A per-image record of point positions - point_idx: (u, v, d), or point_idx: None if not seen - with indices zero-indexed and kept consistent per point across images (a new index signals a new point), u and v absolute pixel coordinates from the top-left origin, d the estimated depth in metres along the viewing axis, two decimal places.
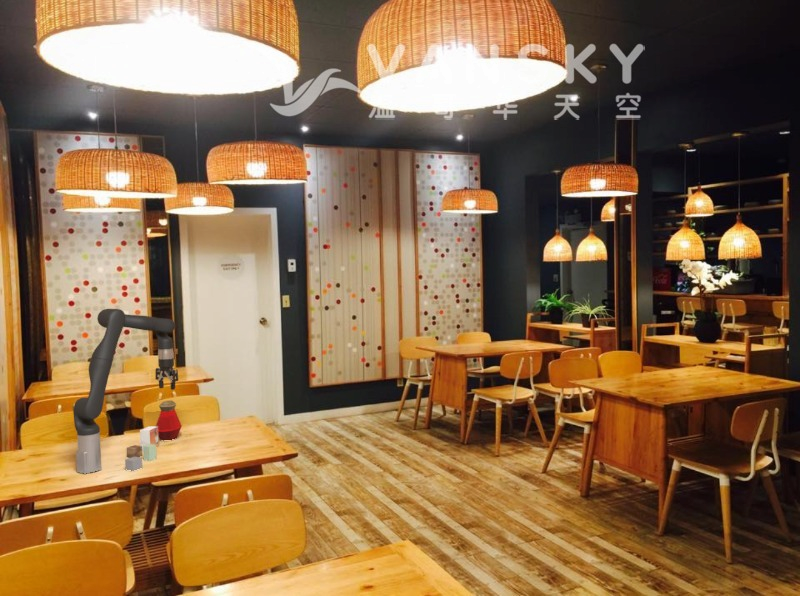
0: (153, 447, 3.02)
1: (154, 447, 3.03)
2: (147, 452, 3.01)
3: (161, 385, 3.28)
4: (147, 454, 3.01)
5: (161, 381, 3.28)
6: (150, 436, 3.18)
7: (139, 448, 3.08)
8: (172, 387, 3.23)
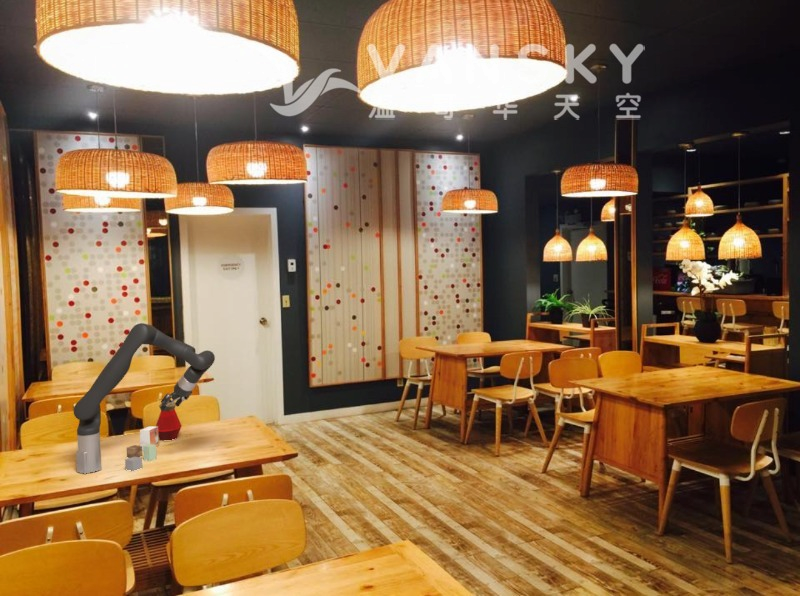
0: (153, 447, 3.02)
1: (154, 447, 3.03)
2: (147, 452, 3.01)
3: (177, 402, 2.98)
4: (147, 454, 3.01)
5: (179, 400, 2.97)
6: (150, 436, 3.18)
7: (139, 448, 3.08)
8: (161, 406, 2.91)
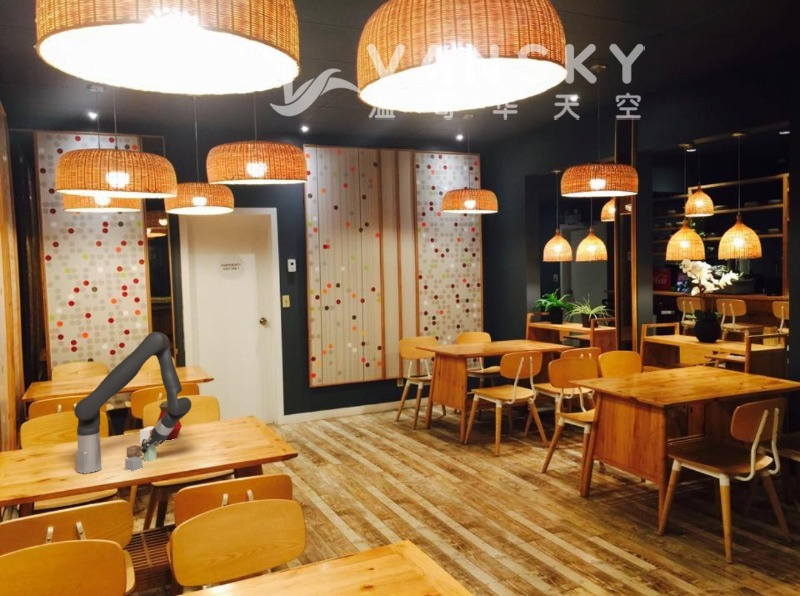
0: (153, 447, 3.02)
1: (154, 447, 3.03)
2: (147, 452, 3.01)
3: None
4: (147, 454, 3.01)
5: (153, 444, 3.04)
6: None
7: (139, 448, 3.08)
8: (142, 449, 3.01)
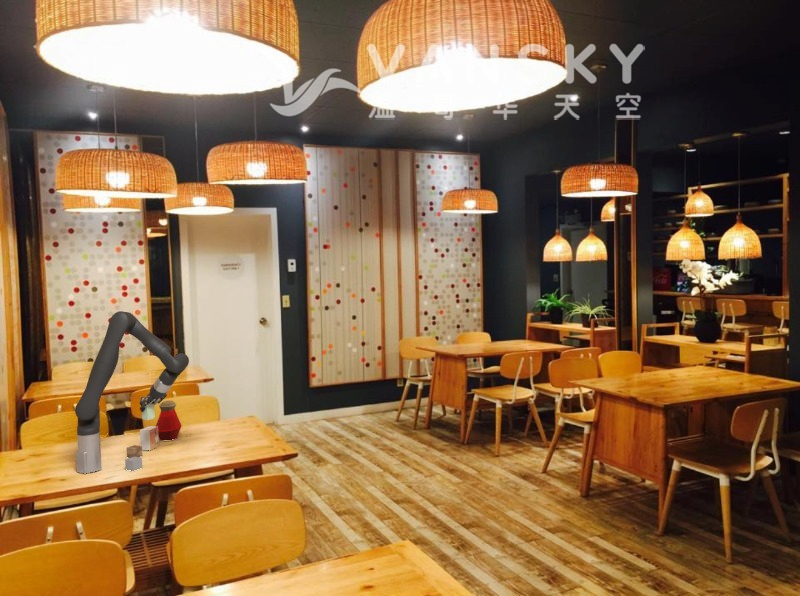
0: (151, 406, 3.01)
1: (152, 406, 3.02)
2: (145, 411, 3.00)
3: None
4: (145, 412, 3.00)
5: None
6: (150, 436, 3.18)
7: (139, 448, 3.08)
8: None
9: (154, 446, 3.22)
